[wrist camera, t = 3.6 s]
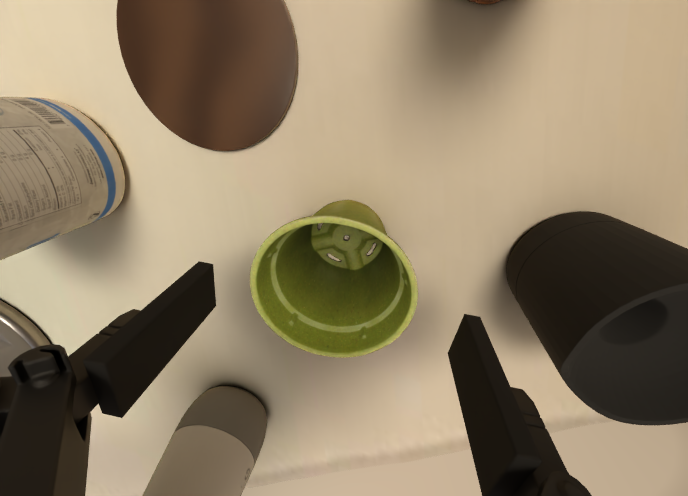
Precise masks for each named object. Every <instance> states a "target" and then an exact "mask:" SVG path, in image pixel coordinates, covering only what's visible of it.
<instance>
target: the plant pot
mask: <svg viewBox="0 0 688 496" xmlns="http://www.w3.org/2000/svg"><path fill="white" fill-rule="evenodd" d="M318 223H323V224H322V226H321V229H320V230H318V228H317V226H318ZM345 235H348V236H349V237H350V239H349V240H348V241H345V240H344V236H345ZM373 243H376V247H375V249H374V251H373V253H372V254H371V255H370V256H366V254H367V252H368V251H369V250H370V249H371V247H372V246H373ZM327 253H330V254H331V255H333V256H334V257H336V258H338V259H339V260H341V261H335V260H332V259H331V258H329V257H328V256H327ZM250 288H251V294H252V297H253V301H254V304H255V306H256V308H257V310H258V312H259V314H260V315H261V317H262V318H263V320H264V321H265V322H266V324H267V325H268V326H269V327H270V328H271V329H272V330H273V331H274V332H275V333H276V334H277V335H279V336H280V337H281V338H282V339H284V340H285V341H287V342H288V343H290V344H291V345H293V346H295V347H298V348H300V349H302V350H304V351H308V352H310V353H313V354H317V355H321V356H329V357H338V358H344V357H356V356H362V355H365V354H369V353H372V352H374V351H376V350H379V349H381V348H383V347H385V346H387V345H389V344H390V343H392V342H393V341H394V340H395V339H397V338H398V337H399V336H400V335H401V333H402V332H403V331H404V330H405V329H406V328H407V326H408V325H409V323H410V321H411V319H412V317H413V315H414V313H415V309H416V306H417V301H418V288H417V280H416V276H415V273H414V270H413V268H412V265H411V263H410V261H409V259H408V258H407V256H406V255H405V253H404V252H403V250H402V249H401V248H400V247H399V246H398V245H397V244H396V243H395V242H394V241H393V240H392V239H391V238H390V237H389V236H387V233H386V231H385V228H384V226H383V224H382V221H381V220H380V218H379V217H378V215H377V214H376V213H375V212H374V211H373V210H372V209H371V208H369V207H368V206H366V205H364V204H362V203H360V202H356V201H351V200H343V201H337V202H333V203H330V204H328V205H326V206H325V207H323V208H322V209H321V210H319V211H318V212H317V213H316V214H314V215H313V216H310V217H304V218H301V219H297V220H294V221H292V222H290V223H288V224H286V225H284V226H282V227H280V228H279V229H277V230H276V231H275V232H273V233H272V234H271V235H270V236H269V237H268V238H267V239H266V240H265V241H264V242H263V244H262V245H261V246H260V248H259V250H258V251H257V253H256V255H255V258H254V260H253V263H252V266H251V271H250Z"/></svg>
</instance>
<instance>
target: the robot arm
mask: <svg viewBox="0 0 688 496" xmlns="http://www.w3.org/2000/svg"><path fill="white" fill-rule="evenodd" d="M215 306H216V299H215V285H214V271H213V264H209V263H204V262H198V263H197V264H195V265H194V266H193V267H192V268H191V269H190V270H188V271H187V272H186V273H185V274H184V275H183V276H181V277H180V278H179V279H178V280H177V281H175V282H174V283H173V284H172V285H171V286H170V287H168V288H167V289H166V290H165V291H164V292H162V293H161V294H160V295H159V296H158V297H157V298H155V299H154V300H153V301H152V302H151V303H150V304H148V305H147V306H146V307H145V308H144V309H142V310H141V311H140V310H135V309H133V310H131V311H129V312H127V313H124V314H122V315H120V316H119V317H117V318H116V319H115V320H114V321H112V322H111V323H110V324H109V325H108V327H107V326H106V327H105V328H104V329H102V330H101V331H100V332H99V334H96V335H95V336H94V337H92V338H91V339H90V340H89V341H87V342H86V343H85V344H84V345H82V346H81V347H80V348H79V349H77V350H76V351H75V352H74V353H72V354H71V355H70V356H69V357H68V356H67V353H66V351H65V348H63V347H62V346H60V345H53V344H50V343H49V341H48V340H47V338H46V337H45V336H44V335H43V333H42V332H41V331H40V330H39V329H38V328H37V327H36V326H35V325H34V324H33V323H32V322H31V321H30V320H29V319H27V318H26V317H25V316H24V315H22V314H21V313H20V312H18V311H17V310H16V309H14V308H13V307H11V306H9V305H8V304H6V303H4V302H3V301H1V300H0V496H85V490H86V478H87V467H88V455H89V443H90V431H91V420H92V417H91V413H90V412H91V411H92V410H93V408H94V407H95V406H96V405H97V404H98V403H99V406H100V408H101V411H102V413H103V414H108V415H112V416H116V417H121V418H122V417H123V416H124V415H125V414H126V413H127V411H128V410H129V409H130V408H131V407H132V405H133V404H134V403H135V402H136V401H137V399H138V398H139V397H140V396H141V395H142V393H143V392H144V391H145V390H146V389H147V387H148V386H149V385H150V384H151V383H152V382H153V380H154V379H155V378H156V377H157V376H158V374H159V373H160V372H161V371H162V370H163V368H164V367H165V366H166V365H167V364H168V362H169V361H170V360H171V359H172V358H173V356H174V355H175V354H176V353H177V352H178V351H179V349H180V348H181V347H182V346H183V345H184V343H185V342H186V341H187V340H188V339H189V337H190V336H191V335H192V334H193V333H194V331H195V330H196V329H197V328H198V327H199V325H200V324H201V323H202V322H203V321H204V319H205V318H206V317H207V316H208V315H209V314H210V312H211V311H212V310H213V309H214V308H215ZM448 356H449V360H450V364H451V368H452V373H453V377H454V381H455V385H456V389H457V393H458V397H459V401H460V406H461V410H462V414H463V418H464V422H465V426H466V430H467V434H468V439H469V443H470V447H471V451H472V455H473V459H474V463H475V467H476V471H477V476H478V480H479V484H480V488H481V492H482V496H591V494H590V493H589V491H588V490H587V489H586V488H585V487H584V486H583V485H582V484H581V483H580V482H579V481H578V480H577V479H575V478H574V477H572V476H570V475H569V473H568V472H567V470H566V468H565V466H564V464H563V462H562V460H561V458H560V456H559V454H558V451H557V450H556V447H555V445H554V443H553V441H552V439H551V437H550V435H549V433H548V431H547V429H545V425H544V423H543V421H542V419H541V418H540V415H539V412H538V410H537V408H536V406H535V404H534V402H533V401H532V400H531V399H530V398H529V396H528V395H527V394H526V393H525V392H524V391H523V390H522V389H517V388H513V387H510V385H509V383H508V380H507V378H506V376H505V374H504V371H503V369H502V367H501V364H500V362H499V360H498V357H497V355H496V353H495V350H494V348H493V346H492V344H491V341H490V339H489V337H488V334H487V332H486V330H485V327H484V325H483V323H482V320H481V318H480V317H477V316H472V315H467V314H464V317H463V319H462V321H461V324H460V326H459V328H458V331H457V333H456V335H455V338H454V340H453V342H452V345H451V347H450V349H449V352H448Z"/></svg>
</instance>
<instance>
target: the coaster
mask: <svg viewBox="0 0 688 496" xmlns="http://www.w3.org/2000/svg"><path fill="white" fill-rule="evenodd" d="M117 32H118V40H119V45H120V49H121V54H122V57H123V60H124V63H125V67H126V69H127V72H128V74H129V76H130V79H131V81H132V83H133V85H134V87H135V88H136V90H137V92H138V94H139V95H140V97H141V98H142V100H143V101H144V103H145V104H146V106H147V107H148V108H149V109H150V111H151V112H152V113H153V114H154V115H155V117H156V118H157V119H158V120H159V121H160V122H161V123H162V124H163V125H165V126H166V127H167V128H168V129H169V130H171V131H172V132H173V133H175V134H176V135H178V136H179V137H181V138H182V139H184V140H186V141H188V142H190V143H192V144H195V145H197V146H200V147H203V148H207V149H211V150H219V151H230V150H237V149H242V148H245V147H248V146H251V145H253V144H255V143H257V142H259V141H261V140H262V139H264V138H265V137H266V136H268V135H269V134H270V133H271V132H272V131H273V130H274V129H275V128H276V127H277V126H278V124H279V123H280V122H281V120H282V119H283V118H284V116H285V114H286V112H287V110H288V108H289V106H290V103H291V101H292V98H293V95H294V91H295V87H296V82H297V73H298V50H297V41H296V36H295V31H294V26H293V23H292V20H291V17H290V14H289V11H288V8H287V6H286V4H285V2H284V0H118V3H117Z"/></svg>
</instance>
